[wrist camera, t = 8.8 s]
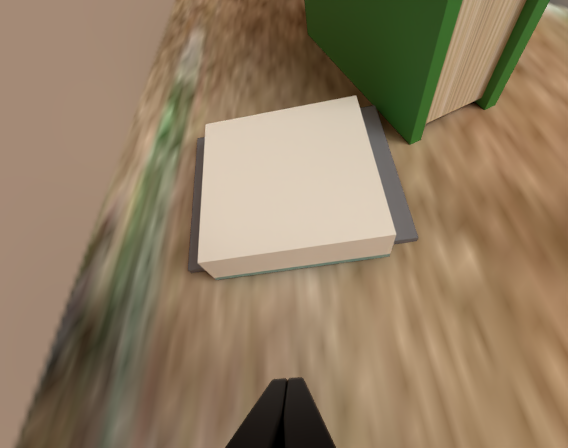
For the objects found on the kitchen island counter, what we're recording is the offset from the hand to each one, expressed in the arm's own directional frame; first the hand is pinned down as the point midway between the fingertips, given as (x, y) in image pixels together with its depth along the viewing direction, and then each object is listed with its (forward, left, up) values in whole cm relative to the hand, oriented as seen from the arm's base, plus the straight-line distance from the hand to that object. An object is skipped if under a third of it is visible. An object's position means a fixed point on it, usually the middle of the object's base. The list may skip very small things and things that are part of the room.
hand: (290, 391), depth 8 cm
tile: (+7, +2, -7) cm, 10 cm away
